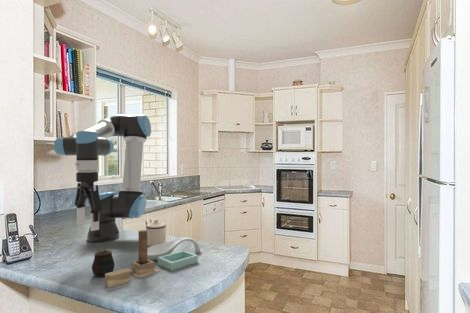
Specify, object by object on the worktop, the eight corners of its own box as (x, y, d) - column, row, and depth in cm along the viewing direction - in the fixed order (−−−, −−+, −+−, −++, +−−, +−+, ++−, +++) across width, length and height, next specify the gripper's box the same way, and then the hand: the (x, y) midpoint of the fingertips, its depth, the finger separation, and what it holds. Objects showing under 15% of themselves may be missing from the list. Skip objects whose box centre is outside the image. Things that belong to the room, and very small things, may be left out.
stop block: (105, 286, 100) (105, 273, 100) (125, 279, 105) (125, 268, 105) (109, 289, 98) (109, 276, 98) (130, 282, 103) (130, 270, 103)
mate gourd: (110, 269, 114) (110, 242, 114) (118, 275, 109) (118, 247, 109) (89, 274, 109) (89, 246, 109) (96, 281, 104) (96, 251, 104)
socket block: (127, 273, 111) (127, 262, 110) (147, 267, 116) (147, 256, 116) (138, 279, 105) (138, 267, 105) (159, 273, 111) (159, 262, 111)
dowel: (137, 270, 111) (136, 231, 110) (144, 268, 113) (144, 229, 113) (141, 272, 108) (141, 232, 108) (149, 270, 111) (148, 231, 110)
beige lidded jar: (169, 244, 146) (169, 219, 146) (152, 248, 140) (152, 222, 140) (156, 239, 155) (156, 215, 155) (139, 242, 148) (139, 218, 148)
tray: (157, 266, 118) (157, 257, 118) (183, 258, 126) (183, 250, 126) (171, 272, 111) (171, 263, 111) (197, 263, 120) (197, 255, 120)
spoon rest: (146, 265, 119) (146, 247, 119) (139, 256, 129) (139, 239, 129) (203, 256, 130) (203, 239, 130) (193, 248, 140) (193, 232, 140)
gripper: (65, 170, 125) (65, 223, 125) (90, 173, 107) (90, 235, 108) (84, 169, 130) (85, 220, 130) (111, 172, 113) (111, 231, 113)
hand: (87, 227), depth 119 cm, fingers open, 13 cm apart
